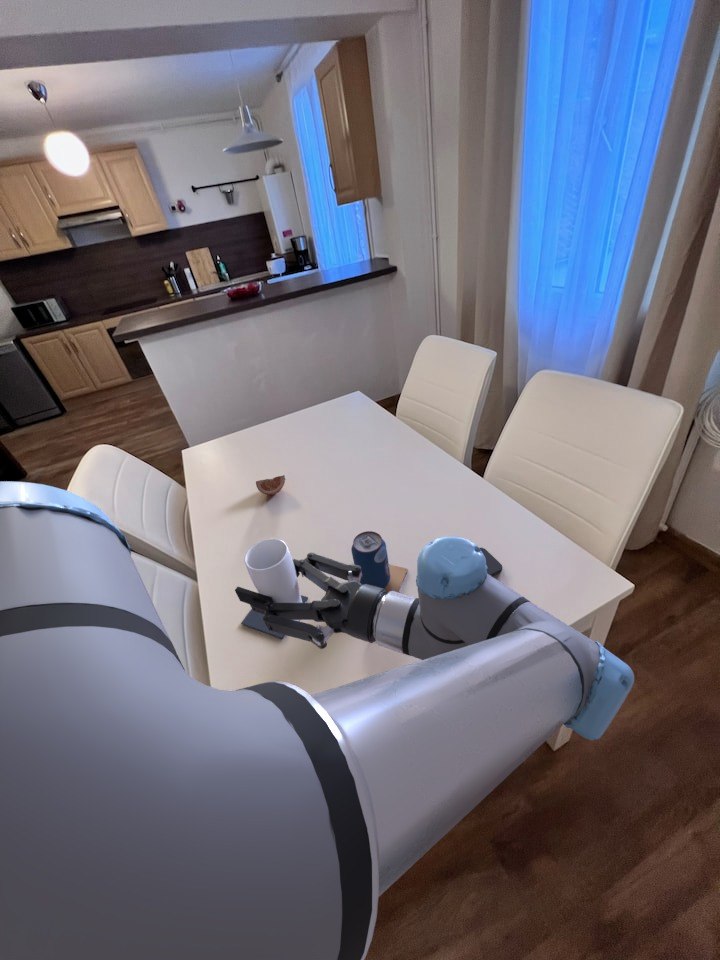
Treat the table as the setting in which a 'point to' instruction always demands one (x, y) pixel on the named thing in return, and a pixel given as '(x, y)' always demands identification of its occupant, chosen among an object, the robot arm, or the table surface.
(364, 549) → the soda can
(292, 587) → the drinking glass
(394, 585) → the cork mat
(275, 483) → the fruit slice
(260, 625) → the slate mat
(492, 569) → the phone
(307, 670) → the table surface
